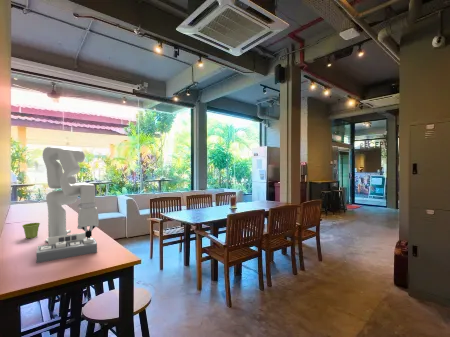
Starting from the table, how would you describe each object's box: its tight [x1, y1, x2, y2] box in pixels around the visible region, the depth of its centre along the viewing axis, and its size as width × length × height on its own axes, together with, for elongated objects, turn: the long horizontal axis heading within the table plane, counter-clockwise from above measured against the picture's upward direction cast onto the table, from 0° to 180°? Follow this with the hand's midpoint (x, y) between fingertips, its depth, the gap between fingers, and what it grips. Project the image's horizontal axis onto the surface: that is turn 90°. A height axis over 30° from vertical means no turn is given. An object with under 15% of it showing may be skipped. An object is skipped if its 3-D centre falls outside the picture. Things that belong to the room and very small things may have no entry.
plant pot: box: [22, 222, 41, 240], centre depth 166 cm, size 9×9×9 cm
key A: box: [40, 246, 52, 251], centre depth 131 cm, size 5×5×3 cm
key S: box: [56, 241, 66, 248], centre depth 134 cm, size 5×5×3 cm
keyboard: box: [35, 232, 98, 264], centre depth 136 cm, size 27×12×9 cm, turn 124°
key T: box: [83, 237, 94, 244], centre depth 141 cm, size 5×5×3 cm
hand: (88, 237), depth 141 cm, fingers closed
